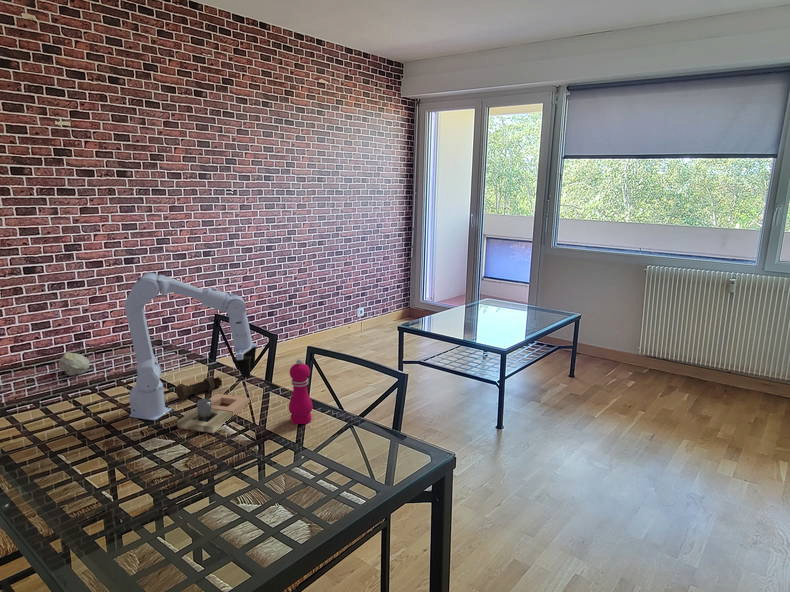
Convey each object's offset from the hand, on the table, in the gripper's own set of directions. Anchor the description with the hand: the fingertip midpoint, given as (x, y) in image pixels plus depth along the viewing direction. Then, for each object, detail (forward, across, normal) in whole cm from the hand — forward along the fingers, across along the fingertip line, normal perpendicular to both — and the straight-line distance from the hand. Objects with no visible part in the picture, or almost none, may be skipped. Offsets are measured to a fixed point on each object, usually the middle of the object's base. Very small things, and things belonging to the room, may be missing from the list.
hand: (249, 372), depth 168 cm
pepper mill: (+13, -14, -16) cm, 25 cm away
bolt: (+9, +8, +20) cm, 23 cm away
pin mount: (+9, -14, +12) cm, 21 cm away
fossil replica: (+3, +26, +71) cm, 76 cm away
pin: (+9, -14, +12) cm, 21 cm away
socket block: (+9, -4, +9) cm, 14 cm away
